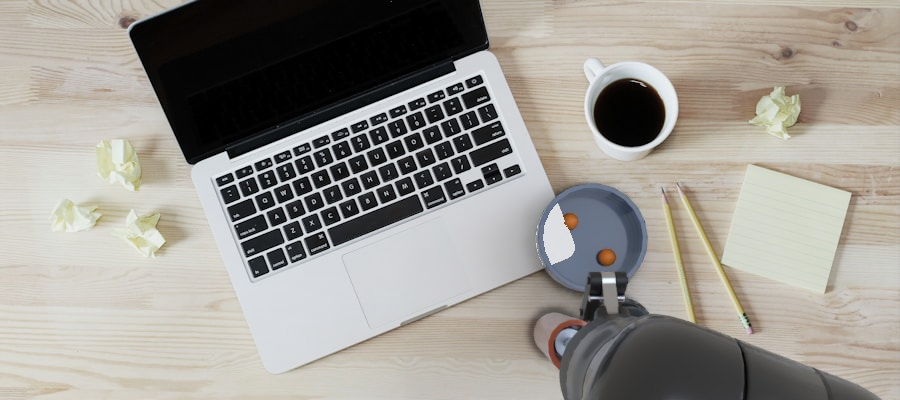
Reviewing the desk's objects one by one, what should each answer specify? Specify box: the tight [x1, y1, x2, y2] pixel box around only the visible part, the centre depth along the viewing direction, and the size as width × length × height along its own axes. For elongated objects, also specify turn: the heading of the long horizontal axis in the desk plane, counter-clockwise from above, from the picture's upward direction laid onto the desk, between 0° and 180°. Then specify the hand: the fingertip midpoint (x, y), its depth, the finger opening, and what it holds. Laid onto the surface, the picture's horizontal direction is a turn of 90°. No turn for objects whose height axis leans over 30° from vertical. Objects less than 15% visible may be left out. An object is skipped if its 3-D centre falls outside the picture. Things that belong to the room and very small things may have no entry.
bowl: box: [536, 183, 649, 293], centre depth 86 cm, size 12×12×5 cm
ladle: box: [554, 327, 578, 357], centre depth 63 cm, size 3×3×20 cm
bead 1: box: [563, 213, 578, 230], centre depth 87 cm, size 2×2×2 cm
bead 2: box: [598, 249, 616, 266], centre depth 86 cm, size 2×2×2 cm
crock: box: [533, 312, 588, 371], centre depth 77 cm, size 5×5×20 cm
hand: (590, 356), depth 58 cm, fingers closed
